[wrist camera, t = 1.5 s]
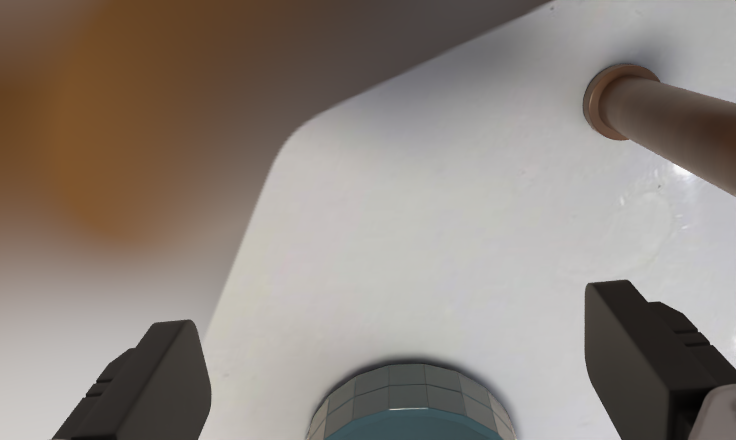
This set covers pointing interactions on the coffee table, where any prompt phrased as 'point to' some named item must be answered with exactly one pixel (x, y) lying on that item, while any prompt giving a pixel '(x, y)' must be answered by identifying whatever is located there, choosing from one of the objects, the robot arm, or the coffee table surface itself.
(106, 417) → the robot arm
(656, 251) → the coffee table surface
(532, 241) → the coffee table surface
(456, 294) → the coffee table surface
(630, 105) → the rod
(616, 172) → the coffee table surface
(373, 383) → the bowl
